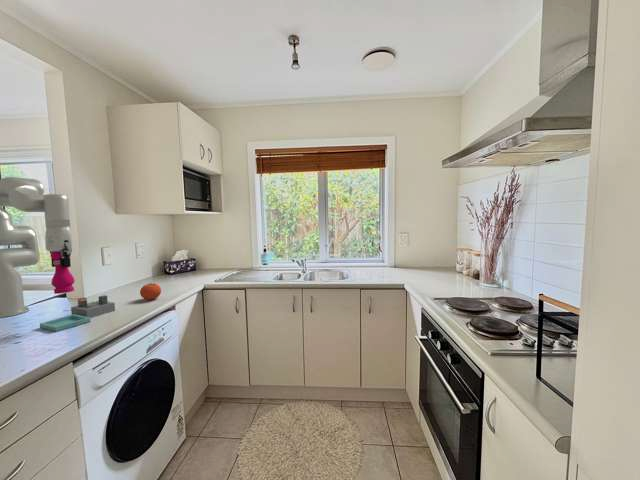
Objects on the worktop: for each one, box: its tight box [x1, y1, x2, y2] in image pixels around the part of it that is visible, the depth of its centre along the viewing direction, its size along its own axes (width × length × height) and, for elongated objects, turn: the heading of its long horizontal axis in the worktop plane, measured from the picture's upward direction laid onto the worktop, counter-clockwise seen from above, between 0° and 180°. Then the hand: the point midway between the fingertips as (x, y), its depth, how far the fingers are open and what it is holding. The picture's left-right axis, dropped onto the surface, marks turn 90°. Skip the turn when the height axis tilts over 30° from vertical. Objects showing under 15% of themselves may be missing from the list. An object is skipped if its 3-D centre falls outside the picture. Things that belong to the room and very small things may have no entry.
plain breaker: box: [98, 294, 109, 304], centre depth 136 cm, size 2×2×4 cm
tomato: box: [139, 281, 162, 301], centre depth 157 cm, size 10×10×10 cm
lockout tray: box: [39, 314, 91, 333], centre depth 119 cm, size 12×12×2 cm
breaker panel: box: [70, 299, 116, 319], centre depth 135 cm, size 12×12×4 cm
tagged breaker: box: [77, 297, 88, 307], centre depth 132 cm, size 3×2×4 cm
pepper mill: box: [50, 249, 76, 295], centre depth 118 cm, size 7×7×20 cm
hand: (61, 266), depth 118 cm, fingers closed on pepper mill, 5 cm apart
